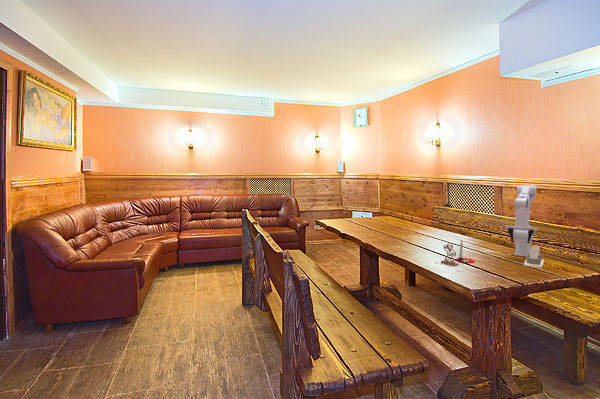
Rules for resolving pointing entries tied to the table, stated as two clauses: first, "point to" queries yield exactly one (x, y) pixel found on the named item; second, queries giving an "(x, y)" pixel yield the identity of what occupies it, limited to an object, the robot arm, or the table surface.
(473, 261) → the tow hook
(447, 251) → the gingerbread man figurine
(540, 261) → the peg rack
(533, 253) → the white long rectangular piece
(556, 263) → the table surface
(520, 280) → the table surface
